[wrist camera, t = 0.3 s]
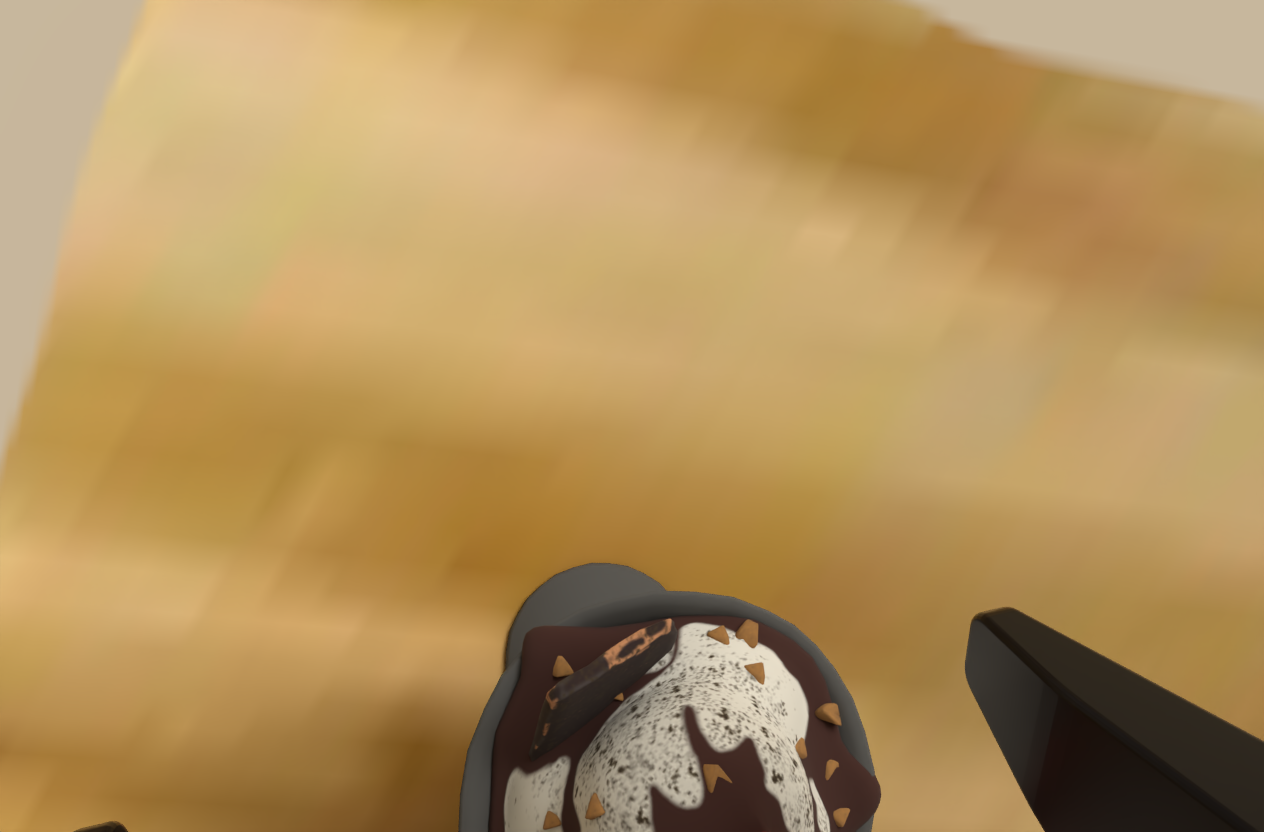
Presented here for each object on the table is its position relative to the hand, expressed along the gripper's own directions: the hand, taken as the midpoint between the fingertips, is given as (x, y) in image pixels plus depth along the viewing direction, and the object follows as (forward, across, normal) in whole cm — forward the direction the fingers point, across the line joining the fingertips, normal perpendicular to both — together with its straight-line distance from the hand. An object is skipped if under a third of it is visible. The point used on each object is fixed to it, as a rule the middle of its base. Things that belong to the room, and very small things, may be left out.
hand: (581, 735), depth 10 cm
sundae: (+11, -1, +10) cm, 15 cm away
